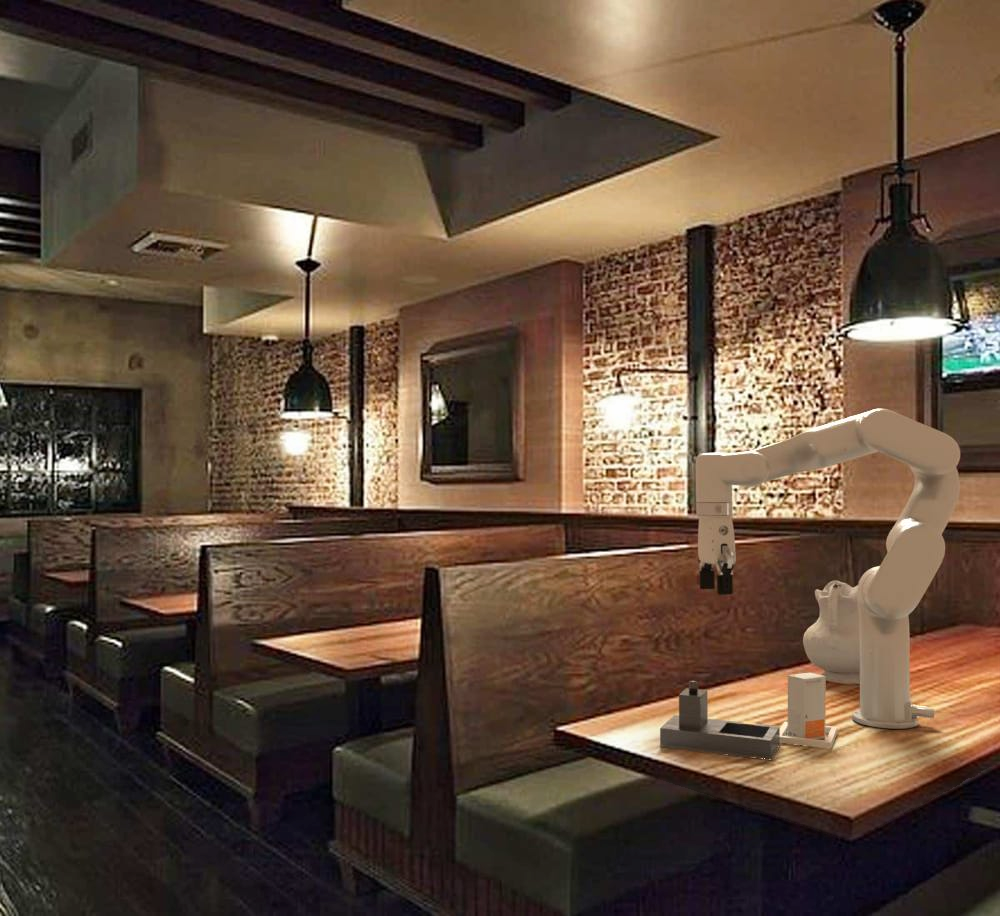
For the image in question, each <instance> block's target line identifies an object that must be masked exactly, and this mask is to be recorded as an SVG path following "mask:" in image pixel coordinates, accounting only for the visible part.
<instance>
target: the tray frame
mask: <svg viewBox="0 0 1000 916" xmlns="http://www.w3.org/2000/svg"><path fill="white" fill-rule="evenodd" d="M787 731H788V721H784V722H783V723H782V724H781V726H780V744H782V743H789V744H788V745H791V744H797V745H796V746H800V745H806V746H805V747H808V746H812V747H811V748H817V747H818V748H819V749H825V750H826V749H828V750H831V749H832V747H833V745H834V743H835V740H836V738H837V735H838V726H834V725H833V726H832V725H825V734H827V737H826V738H825V739H824V740H823V739H808V738H798V737H789V736H788V735H787V734H788V732H787ZM786 733H787V734H786Z"/></svg>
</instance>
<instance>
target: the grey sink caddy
mask: <svg viewBox="0 0 1000 916" xmlns="http://www.w3.org/2000/svg"><path fill="white" fill-rule="evenodd" d="M698 682H699V681H697V680H689V681H688V687H686V688H685V689H683V691H681V692H680V693H679V694H678V714H677V715H676V714H673V715H672V716H671V718H669V719H668V720H667V721H666V722H665V723H664V724H663V725H662V726H660V729H659V746H660V748H667V749H674V750H683V751H691V752H700V753H706V754H715V753H716V754H715V755H722V754H728V755H727V756H730V755H735V756H734V757H739V756H743V757H742V758H747V757H756V758H763V759H764V758H765V759H771V758H772V759H773V757H774V756H775V754H776V752H777V751H776V750H778V749H779V747H780V744H781V743H780V728H781V726H780V725H772V724H771V725H770V724H762V723H761V724H760V723H755V722H749V721H748V722H747V721H746V722H745V721H742V722H741V721H733V720H723V719H714V718H708V714H709V713H708V712H709V711H708V689H702V688H701V689H700V688H698V687H699V686H698V685H699V683H698ZM778 746H779V747H778ZM777 748H778V749H777ZM775 751H776V752H775ZM774 753H775V754H774ZM773 755H774V756H773ZM772 756H773V757H772ZM763 759H762V760H763ZM772 759H771V760H772Z"/></svg>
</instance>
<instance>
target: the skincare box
mask: <svg viewBox="0 0 1000 916" xmlns="http://www.w3.org/2000/svg"><path fill="white" fill-rule="evenodd" d="M826 682H827V681H826V677H825V676H822V674H817V673H814V672H804V673H803V672H801V673H800V672H799V673H796V674H788V675H787V722H788V732H787V736H789V737H798V738H808V739H817V740H823V739H824V740H825V739H826V733H825V726H826V696H827V695H826V692H827V691H826V688H827V687H826V686H827V685H826V684H827V683H826Z"/></svg>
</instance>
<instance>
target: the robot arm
mask: <svg viewBox="0 0 1000 916" xmlns="http://www.w3.org/2000/svg"><path fill="white" fill-rule="evenodd" d="M878 452H879V453H882V454H884V455H885V456H887V457H889V458H892V459H894V460H897V461H899V462H901V463H903V464H906V465H908V467H909V468H910V470H911V472H912V475H913V476H914V487H913V490H912V492H911V494H910V497H909V498H908V500H907V502H906V504H905V506H904V508H903V510H902V511H901V512H900V515H899V517H898V519H897V520H896V522H895V524H894V525H893V526H892V529H890V531H889V533H888V535H887V537H886V541H885V547H886V552H887V553H886V555H885V556H884V558H883V560H882V562H881V563H880V565H878V566H874V567H872V568H871V567H870V569H868V570H866V572H864V573H863V574H862V575H861V577H860V579H859V580H858V584H857V585H858V592H857V596H858V609H859V625H860V684H859V709H856V710H854V711H852V713H851V718H852V721H854V722H856V723H858V724H861V725H863V726H864V725H865V726H868V727H873V728H880V729H892V730H893V729H895V730H903V729H904V730H905V729H912V728H914V727H917V726H918V725H919V718H918V717H921V718H927V719H935V708H931V707H928V706H924V705H923V706H919V705H916V704H915V703H913V699H912V698H911V686H910V685H911V683H910V682H911V681H910V680H911V679H910V677H911V673H910V672H911V670H910V669H911V668H910V667H911V663H910V660H911V659H910V652H911V651H910V649H911V648H910V646H911V644H910V643H911V642H910V641H911V640H910V639H911V638H910V618H909V615H910V614H912V612H913V611H914V610H915V608H916V607H917V606H918V605H919V603H920V601H921V600H922V598H923V597H924V594H925V593H926V592H927V590H928V587H929V586H930V585H931V582H932V581H933V579H934V577H935V576H936V575H937V574H936V573H937V572H938V570H939V569H940V566H941V565H942V563H943V560H944V557H945V553H946V552H945V551H946V541H945V539H944V537H943V533H944V531H945V529H946V527H947V525H948V523H949V521H950V519H951V517H952V515H953V513H954V511H955V509H956V507H957V504H958V503H959V502H958V501H959V498H960V490H961V483H960V476H959V471H958V468H957V466H958V464H959V462H960V459H961V448H960V446H959V444H958V442H957V441H956V440H955V439H954V438H953V437H952V436H950V435H949V434H947V433H945V432H942V431H941V430H937V429H936V428H934V427H931V426H928V425H926V424H923V423H921V422H918V421H916V420H914V419H911V418H909V417H907V416H905V415H902V414H900V413H899V412H896V411H893V410H891V409H887V408H883V407H882V408H875V409H872V410H869V411H866V412H862V413H859V414H856V415H852V416H849V417H847V418H843V419H839V420H837V421H834V422H830V423H827V424H824V425H820V426H817V427H814V428H811V429H808V430H805V431H803V432H801V433H798V434H797V435H794V436H792V437H790V438H787V439H785V440H781V441H779V442H778V441H777V442H775V443H772V444H769V445H766V446H762V447H759V448H756V449H753V450H750V451H749V450H748V451H743V452H734V453H726V452H704V453H700V454H698V455H697V456H696V457H695V494H696V495H695V500H696V501H695V502H696V506H695V507H696V508H695V509H696V510H695V511H696V518H697V519H698V531H697V533H698V534H697V555H698V560H697V562H698V563H699V565H698V569H699V589H701V590H714V589H715V588H716V593H717V595H721V596H722V595H733V594H734V593H733V592H734V589H733V588H734V587H733V575H734V567H735V566H734V565H735V564H736V562H737V561H736V560H737V559H736V558H737V557H736V556H737V555H736V541H735V539H736V538H735V530H734V524H733V523H734V522H733V518H734V516H733V513H734V512H733V486H741V487H742V486H743V487H747V488H748V487H749V488H755V487H758V486H760V485H763V483H767V482H770V481H774V480H778V479H780V478H783V477H787V476H790V475H794V474H797V473H802V472H804V473H805V472H810V471H811V472H813V471H816V470H821V469H825V468H829V467H831V466H835V465H838V464H842V463H845V462H847V461H848V462H849V461H851V460H854V459H855V460H856V459H858V458H861V457H865V456H868V455H872V454H875V453H878ZM714 566H715V567H716V570H717V573H718V574H716V582H715V570H714ZM715 583H716V584H715ZM715 586H716V587H715Z"/></svg>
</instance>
